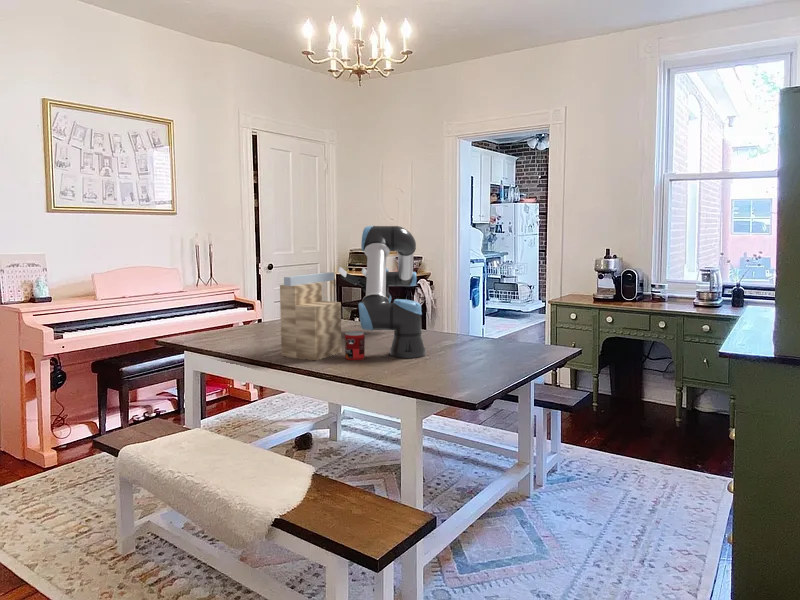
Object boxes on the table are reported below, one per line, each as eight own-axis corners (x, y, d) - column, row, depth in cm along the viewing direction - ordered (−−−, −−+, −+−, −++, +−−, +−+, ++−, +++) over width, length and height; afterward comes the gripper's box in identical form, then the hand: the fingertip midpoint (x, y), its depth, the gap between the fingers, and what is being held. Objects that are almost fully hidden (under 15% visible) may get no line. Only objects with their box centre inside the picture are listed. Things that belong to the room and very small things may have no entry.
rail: (327, 280, 273) (327, 272, 272) (334, 280, 271) (334, 272, 271) (284, 285, 247) (283, 277, 247) (290, 286, 245) (290, 277, 245)
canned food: (343, 357, 249) (342, 331, 248) (361, 356, 252) (361, 330, 251) (348, 361, 242) (347, 334, 241) (366, 359, 245) (366, 333, 244)
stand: (308, 348, 267) (307, 281, 264) (341, 352, 258) (340, 283, 255) (281, 356, 252) (279, 285, 248) (315, 360, 243) (314, 287, 239)
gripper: (391, 296, 292) (370, 277, 275) (349, 293, 305) (327, 275, 287) (395, 282, 294) (374, 263, 277) (353, 280, 307) (331, 261, 290)
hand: (350, 269), depth 282 cm, fingers open, 13 cm apart
